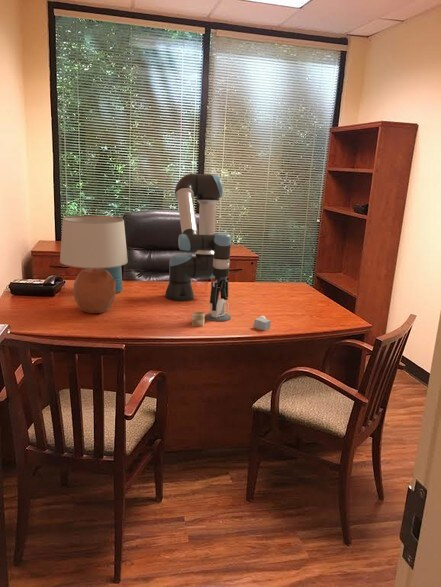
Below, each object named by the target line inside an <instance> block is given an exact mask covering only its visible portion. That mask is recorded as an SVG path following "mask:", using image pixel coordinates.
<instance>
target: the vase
mask: <svg viewBox="0 0 441 587" xmlns="http://www.w3.org/2000/svg"><path fill="white" fill-rule="evenodd" d="M103 269H106V270H107V271H109V273H110V274H111V276H112V277H113V278H114V281H115V285H116V290H115V294H118V293H117V292H119V293H120V292H122V291H123V290H124V286H123V275H122V274H123V272H122V266H118V267H110V268H103Z"/></svg>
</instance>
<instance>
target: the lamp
mask: <svg viewBox="0 0 441 587" xmlns="http://www.w3.org/2000/svg"><path fill="white" fill-rule="evenodd" d="M60 239H61V241H60V242H61V244H60V254H59V255H60V256H59V262H60V263H61V265H64V266H67V267H71V268H79V269H82V270H81V271H80V272H79V273H78V275H77V276H76V277H75V280H74V282H73V297H74V300H75V303H76V305H77V307H78V308H79V309H80V310H81V311H82V312H85V313H86V312H87V314H90V313H99V314H103V313H105V312H107V311H108V310H109V309H111V308H112V305H113V304H114V301H115V297H116V293H115V290H116V285H115V281H114V278H113V277H112V276H111V274H110V273H109V271H107V270H106V269H103V268H110V267H118V266H121V267H122V266H124V265H127V264H128V262H129V260H128V251H127V250H128V248H127V241H126V240H127V238H126V229H125V220H124V219H123V218H121V217H115V216H108V215H107V216H105V215H72V216H71V215H70V216H65V217H63V218H62V227H61V238H60ZM102 312H103V313H102Z"/></svg>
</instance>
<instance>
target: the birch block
mask: <svg viewBox="0 0 441 587" xmlns="http://www.w3.org/2000/svg"><path fill="white" fill-rule="evenodd" d="M205 318H206V312H204V311H201V312H200V311H193V312H192V315H191V326H194V327H203V326H205V322H206V321H205V320H206V319H205Z"/></svg>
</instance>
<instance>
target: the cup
mask: <svg viewBox="0 0 441 587" xmlns="http://www.w3.org/2000/svg"><path fill="white" fill-rule="evenodd" d="M225 302H226V303H227V306H228V308H227V310H226V311H225V313H224V314H228V313H229V311H230V303H229V301H227V300H226V301H224V299H221V297H219V298H218V302H217V304H218V317H220V316H223V315H224V314H222V315H219V314H220V313H221V310H222V307H223V303H225ZM209 305H210V306H209V307H210V313H211V316H212V303H210V302H209Z"/></svg>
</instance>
